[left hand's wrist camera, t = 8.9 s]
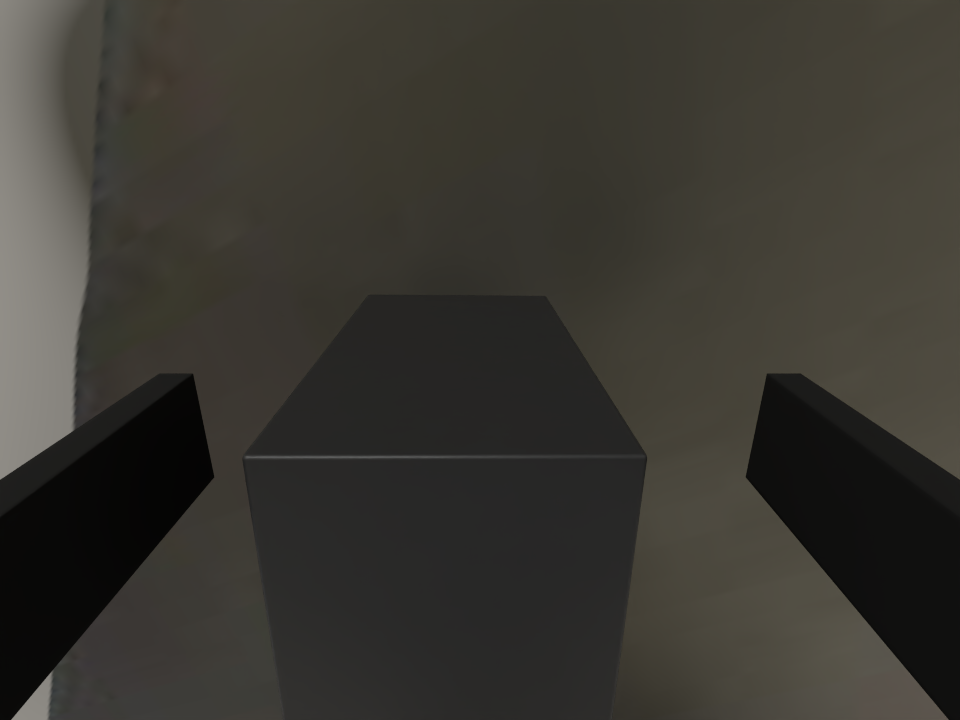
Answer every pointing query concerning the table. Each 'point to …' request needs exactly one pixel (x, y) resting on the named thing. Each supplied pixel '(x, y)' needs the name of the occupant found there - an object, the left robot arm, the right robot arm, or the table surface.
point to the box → (447, 519)
